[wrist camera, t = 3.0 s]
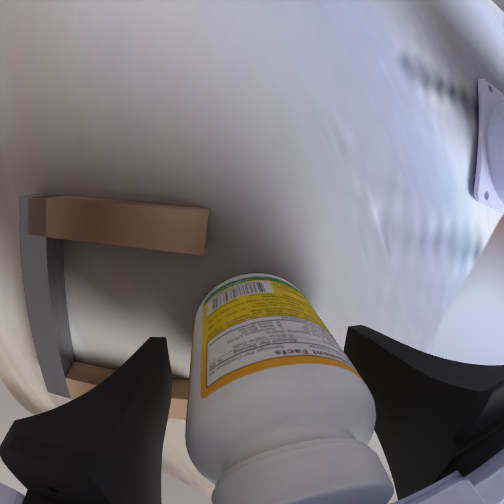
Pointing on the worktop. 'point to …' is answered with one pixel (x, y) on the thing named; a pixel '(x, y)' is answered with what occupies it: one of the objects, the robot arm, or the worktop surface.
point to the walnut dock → (52, 272)
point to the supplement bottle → (277, 402)
